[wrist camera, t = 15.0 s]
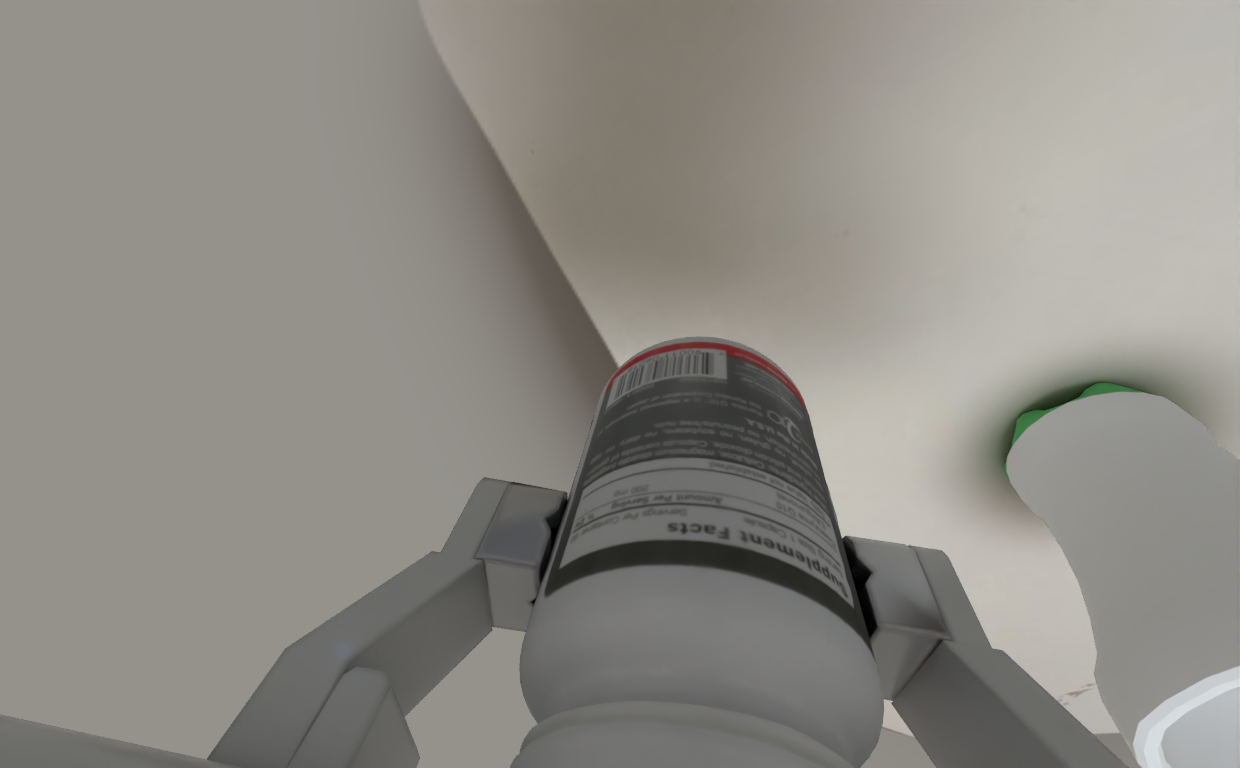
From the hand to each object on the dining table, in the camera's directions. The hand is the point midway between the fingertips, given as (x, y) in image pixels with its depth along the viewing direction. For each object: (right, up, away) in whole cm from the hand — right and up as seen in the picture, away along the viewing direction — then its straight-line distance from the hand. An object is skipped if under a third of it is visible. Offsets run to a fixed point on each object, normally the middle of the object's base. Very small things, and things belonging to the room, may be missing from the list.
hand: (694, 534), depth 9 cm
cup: (+23, 0, +18) cm, 29 cm away
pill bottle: (+1, +2, +3) cm, 4 cm away
